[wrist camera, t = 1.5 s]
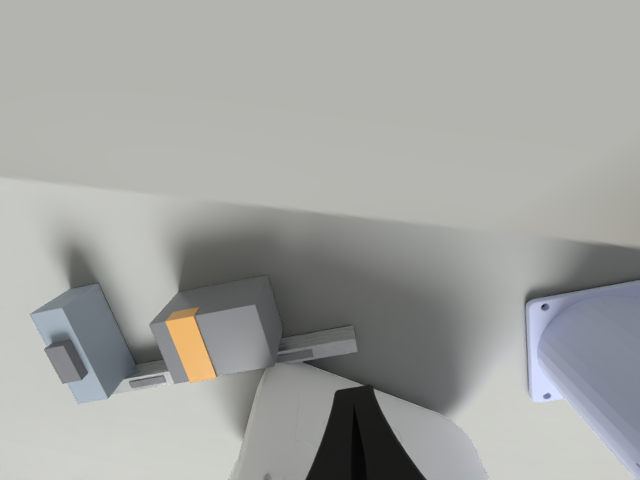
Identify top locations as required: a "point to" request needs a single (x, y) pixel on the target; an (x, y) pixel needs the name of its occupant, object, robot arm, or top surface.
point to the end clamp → (84, 343)
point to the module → (219, 330)
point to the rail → (288, 352)
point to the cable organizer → (311, 420)
